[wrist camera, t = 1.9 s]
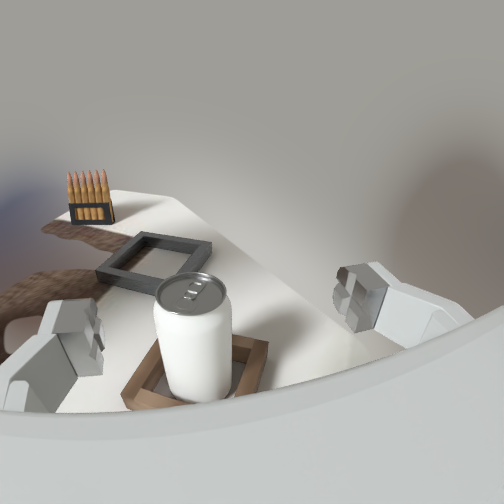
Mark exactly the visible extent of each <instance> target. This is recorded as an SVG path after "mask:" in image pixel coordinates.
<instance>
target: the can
mask: <svg viewBox="0 0 504 504" xmlns="http://www.w3.org/2000/svg"><path fill="white" fill-rule="evenodd" d="M155 297H156V301H155V304H154V308H153V314H154V321H155V326H156V331H157V336H158V341H159V346H160V350H161V355H162V359H163V364H164V368H165V372H166V376H167V380H168V384H169V387H170V390H171V392H172V394H173V395H174V396H175V397H176V398H177V399H178V400H179V401H181V402H184V403H187V404H197V403H204V402H210V401H216V400H222V399H223V398H224V397H225V396H226V395H227V394H228V392H229V390H230V388H231V381H232V309H231V303H230V300H229V298H228V296H227V295H226V287H225V285H224V284H223V282H222V281H221V280H219V279H218V278H216V277H214V276H212V275H209V274H206V273H200V272H186V273H180V274H176V275H173V276H171V277H169V278H167V279H165V280H164V281H163V282H162V283H161V284H160V285H159V286H158V288H157V290H156V294H155Z"/></svg>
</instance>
